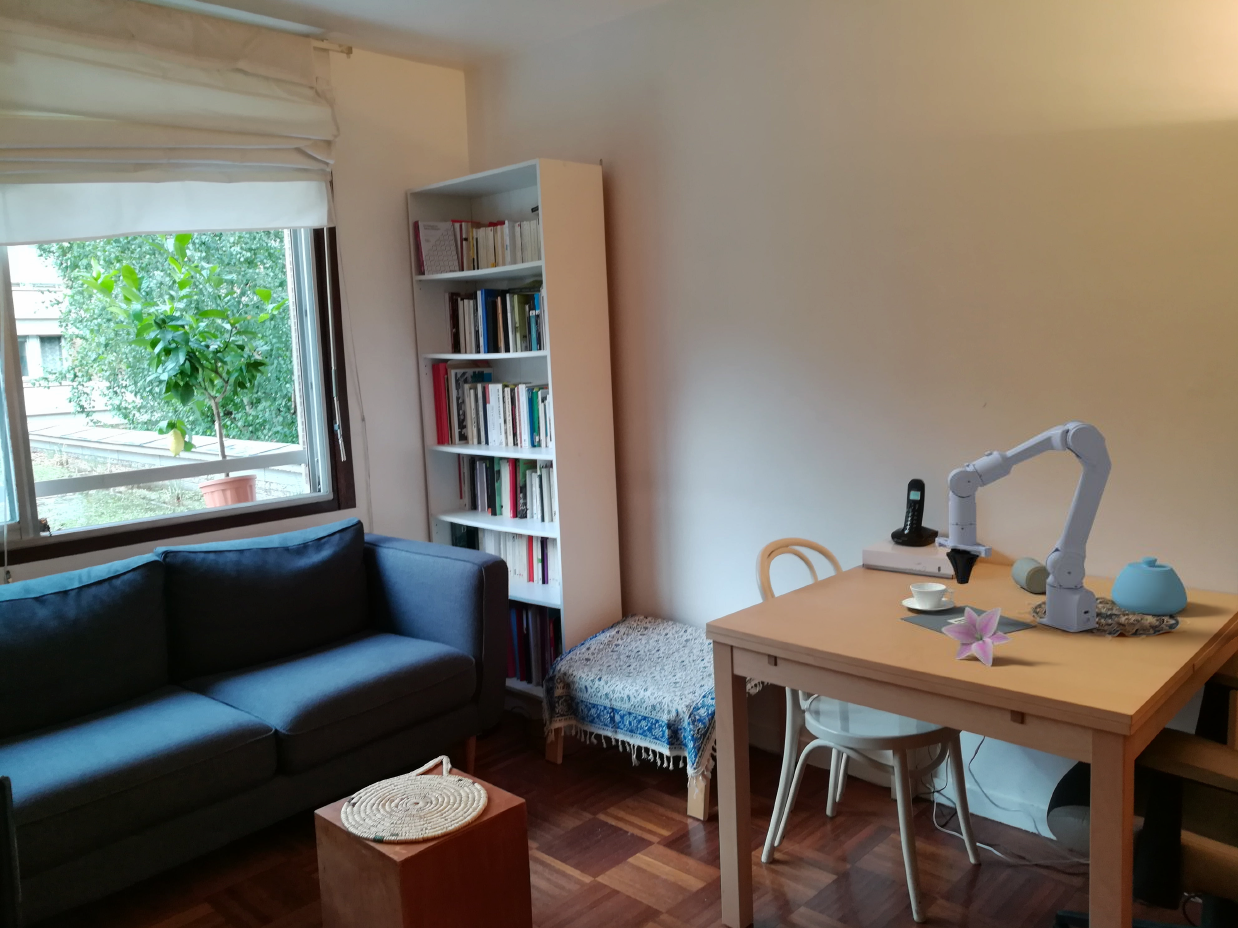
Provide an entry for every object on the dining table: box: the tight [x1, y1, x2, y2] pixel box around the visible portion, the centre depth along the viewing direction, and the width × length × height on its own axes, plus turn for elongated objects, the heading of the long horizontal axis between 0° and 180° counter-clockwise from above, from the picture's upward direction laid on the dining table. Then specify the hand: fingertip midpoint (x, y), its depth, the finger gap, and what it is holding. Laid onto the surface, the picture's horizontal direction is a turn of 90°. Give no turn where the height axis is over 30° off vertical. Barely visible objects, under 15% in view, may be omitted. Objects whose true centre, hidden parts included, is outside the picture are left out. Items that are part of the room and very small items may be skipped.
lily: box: [941, 606, 1012, 667], centre depth 181 cm, size 12×12×10 cm
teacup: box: [901, 582, 957, 612], centre depth 215 cm, size 12×12×5 cm
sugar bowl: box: [1110, 556, 1188, 616], centre depth 209 cm, size 15×15×12 cm
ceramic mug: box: [1010, 556, 1050, 594], centre depth 227 cm, size 11×8×8 cm
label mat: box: [900, 604, 1037, 636], centre depth 204 cm, size 20×20×1 cm
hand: (962, 583), depth 204 cm, fingers closed
